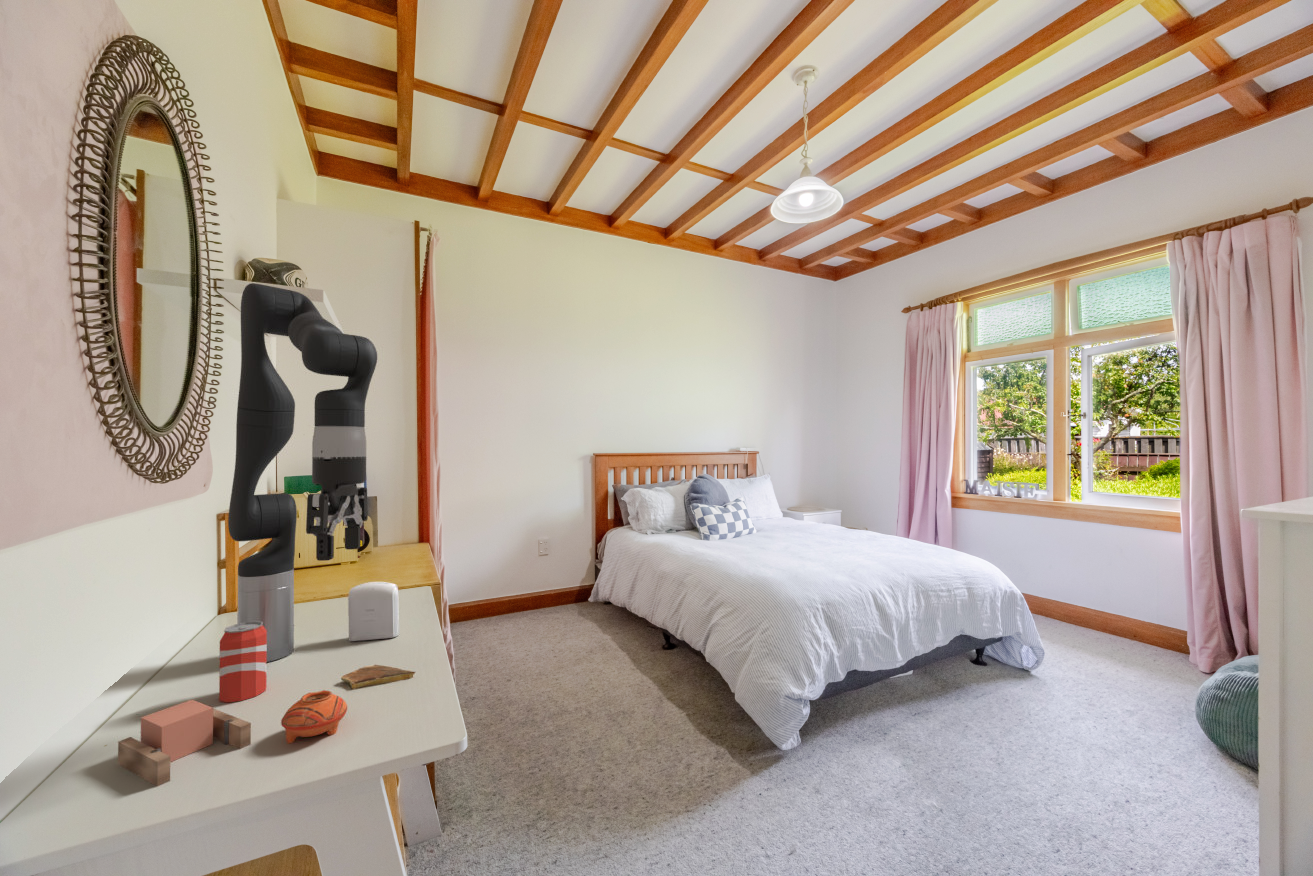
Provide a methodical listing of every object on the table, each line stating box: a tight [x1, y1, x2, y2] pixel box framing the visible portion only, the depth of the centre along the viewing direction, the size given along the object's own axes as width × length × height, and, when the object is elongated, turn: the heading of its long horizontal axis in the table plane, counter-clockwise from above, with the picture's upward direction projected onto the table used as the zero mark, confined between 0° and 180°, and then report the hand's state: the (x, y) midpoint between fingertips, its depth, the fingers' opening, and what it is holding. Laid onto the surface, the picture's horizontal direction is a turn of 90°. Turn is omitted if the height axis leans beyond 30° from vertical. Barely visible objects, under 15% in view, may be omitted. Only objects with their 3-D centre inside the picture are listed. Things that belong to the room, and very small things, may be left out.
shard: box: [340, 664, 416, 690], centre depth 92 cm, size 11×8×2 cm
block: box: [140, 699, 214, 763], centre depth 70 cm, size 6×6×5 cm
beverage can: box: [218, 621, 268, 703], centre depth 87 cm, size 6×6×12 cm
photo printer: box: [347, 581, 400, 642], centre depth 115 cm, size 10×4×12 cm, turn 99°
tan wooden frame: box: [117, 708, 252, 788], centre depth 68 cm, size 15×10×4 cm, turn 64°
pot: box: [280, 690, 348, 744], centre depth 74 cm, size 8×8×7 cm
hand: (339, 554), depth 83 cm, fingers open, 8 cm apart
